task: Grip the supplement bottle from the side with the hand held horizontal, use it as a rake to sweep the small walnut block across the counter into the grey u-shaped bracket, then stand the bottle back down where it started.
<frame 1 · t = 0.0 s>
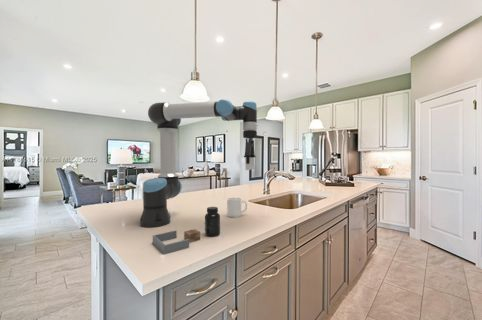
hand: (250, 169, 120), 28 cm above the counter, tool pointing down, fingers open, 13 cm apart
supplement bottle: (212, 234, 99), on the counter
cup: (237, 215, 131), on the counter
brown wooden block: (192, 239, 93), on the counter
grey u-shaped bracket: (170, 245, 87), on the counter
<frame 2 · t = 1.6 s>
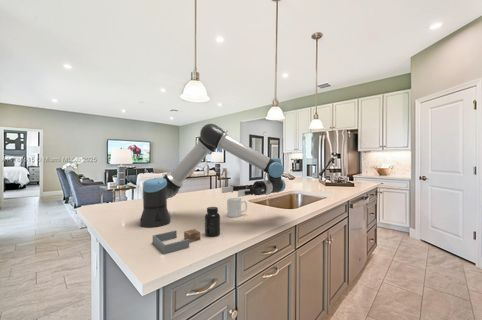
hand: (229, 191, 105), 18 cm above the counter, tool horizontal, fingers open, 13 cm apart
nothing on the counter moved.
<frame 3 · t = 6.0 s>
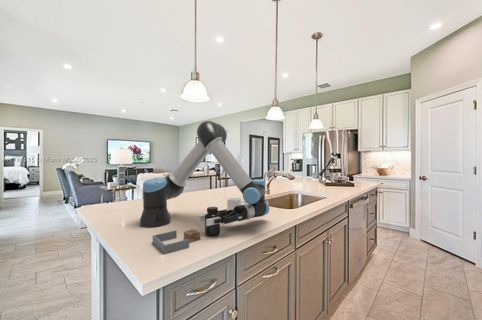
hand: (202, 220, 96), 7 cm above the counter, tool horizontal, fingers closed on supplement bottle, 7 cm apart
supplement bottle: (212, 234, 99), on the counter, touching gripper
everything else where it was.
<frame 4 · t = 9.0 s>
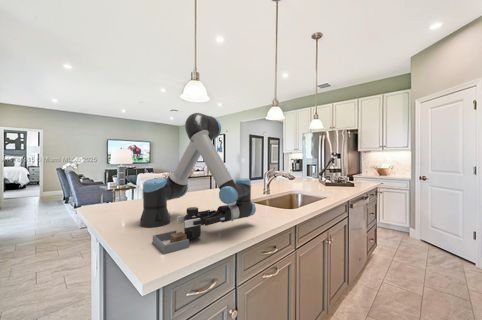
hand: (181, 222, 89), 8 cm above the counter, tool horizontal, fingers closed on supplement bottle, 7 cm apart
supplement bottle: (192, 237, 93), point 1 cm above the counter, touching gripper
brown wooden block: (178, 242, 90), on the counter
everything else where it was.
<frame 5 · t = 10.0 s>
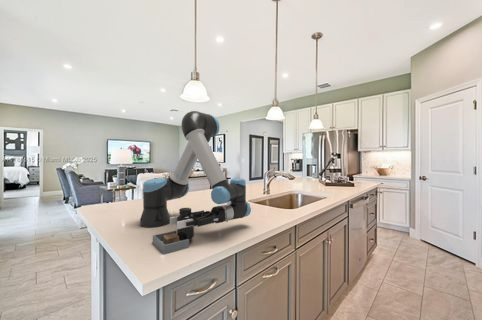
hand: (173, 223, 88), 8 cm above the counter, tool horizontal, fingers closed on supplement bottle, 7 cm apart
supplement bottle: (185, 238, 91), point 1 cm above the counter, touching gripper
brown wooden block: (171, 244, 88), on the counter
everything else where it was.
when the fingers open (8 cm above the counter, at t = 14.0 s): supplement bottle drops 1 cm, on the counter.
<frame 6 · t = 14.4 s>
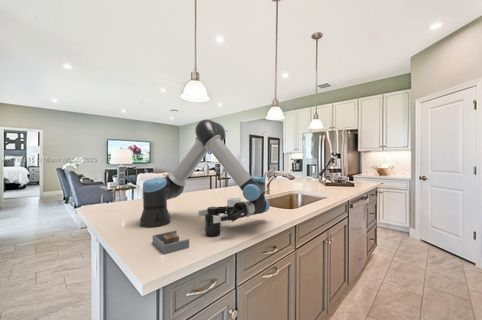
hand: (205, 216, 97), 8 cm above the counter, tool horizontal, fingers open, 13 cm apart
supplement bottle: (212, 234, 99), on the counter
everything else where it was.
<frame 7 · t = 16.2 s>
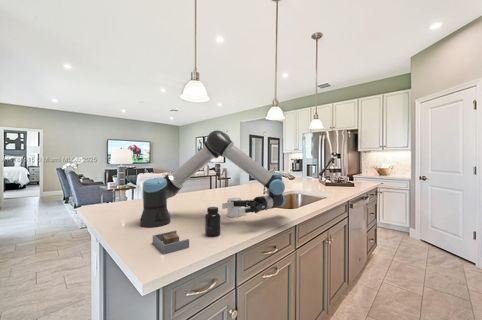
hand: (230, 208, 105), 10 cm above the counter, tool horizontal, fingers open, 13 cm apart
nothing on the counter moved.
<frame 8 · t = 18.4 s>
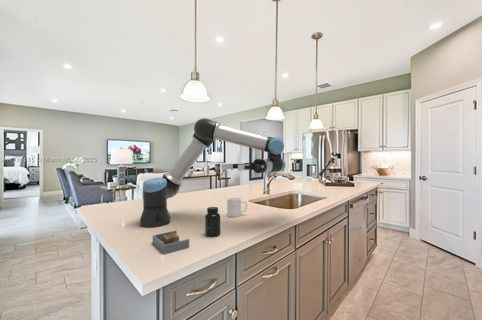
hand: (229, 167, 105), 30 cm above the counter, tool horizontal, fingers open, 13 cm apart
nothing on the counter moved.
at the end: brown wooden block 0.8 cm from the grey u-shaped bracket (horizontally); supplement bottle tilted 0°; the gripper is holding nothing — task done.
